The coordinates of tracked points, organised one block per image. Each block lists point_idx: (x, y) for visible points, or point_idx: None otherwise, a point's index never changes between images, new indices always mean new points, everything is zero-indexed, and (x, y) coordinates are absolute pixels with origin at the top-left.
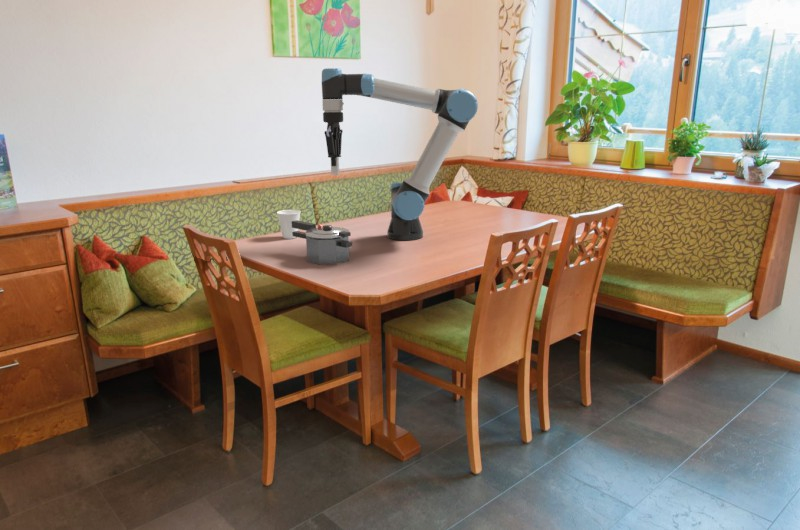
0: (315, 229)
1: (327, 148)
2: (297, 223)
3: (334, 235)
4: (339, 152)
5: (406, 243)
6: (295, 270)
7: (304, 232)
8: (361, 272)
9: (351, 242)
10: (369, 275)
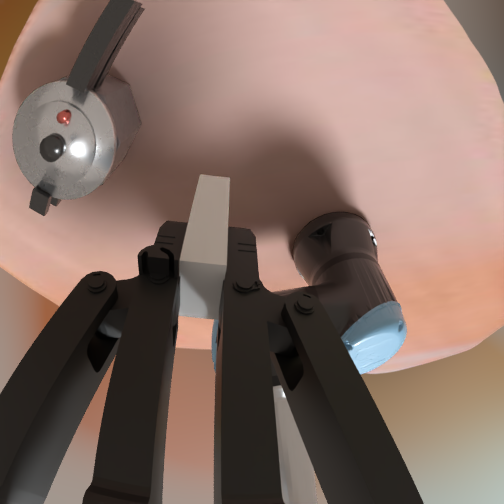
0: (50, 110)
1: (35, 344)
2: (98, 22)
3: (29, 178)
4: (270, 356)
5: (265, 256)
6: (8, 95)
7: (119, 39)
8: (36, 213)
9: (54, 204)
10: (30, 228)
